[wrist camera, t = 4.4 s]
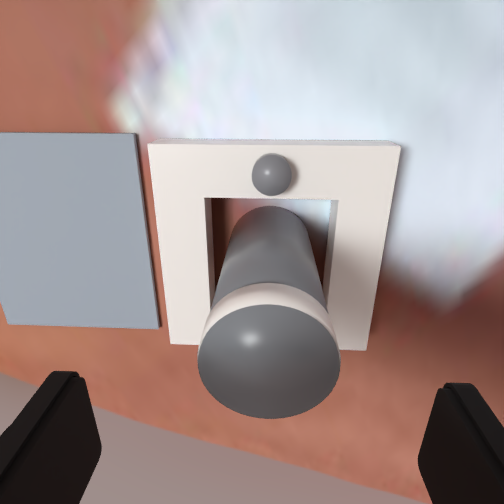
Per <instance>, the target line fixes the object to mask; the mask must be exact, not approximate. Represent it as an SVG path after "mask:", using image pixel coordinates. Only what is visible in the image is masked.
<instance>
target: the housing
mask: <svg viewBox="0 0 504 504" xmlns="http://www.w3.org/2000/svg"><path fill="white" fill-rule="evenodd" d="M400 150H401V146H399V145H397V144H395V143H392V142H390V141H381V140H269V139H158V140H155V141H153V142H151V143H148V152H149V161H150V170H151V178H152V187H153V196H154V204H155V213H156V222H157V230H158V239H159V247H160V256H161V265H162V273H163V282H164V291H165V299H166V308H167V317H168V325H169V334H170V343H171V344H190V345H199V344H200V340H201V337H202V333H203V330H204V326H205V323H206V320H207V317H208V315H209V313H210V310H211V306H212V303H213V299H214V296H215V292H216V291H215V271H214V250H213V228H212V207H211V198H265V199H326V200H331V207H330V217H329V228H328V238H327V248H326V258H325V268H324V279H323V289H322V290H323V294H324V298H325V302H326V306H327V310H328V314H329V317H330V319H331V321H332V324H333V327H334V331H335V335H336V339H337V343H338V346H339V350H364V351H366V348H367V342H368V336H369V331H370V325H371V319H372V313H373V307H374V301H375V295H376V290H377V284H378V278H379V272H380V266H381V260H382V255H383V249H384V243H385V237H386V231H387V225H388V220H389V214H390V208H391V202H392V196H393V190H394V185H395V179H396V173H397V167H398V161H399V155H400Z"/></svg>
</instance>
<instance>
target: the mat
mask: <svg viewBox="0 0 504 504" xmlns="http://www.w3.org/2000/svg"><path fill="white" fill-rule="evenodd" d="M0 302H1V305H2V308H3V311H4V314H5V316H6V319H7V322H8V324H17V325H47V326H78V327H108V328H139V329H159V327H160V323H159V315H158V307H157V300H156V292H155V284H154V276H153V268H152V260H151V253H150V245H149V237H148V229H147V221H146V214H145V206H144V198H143V190H142V182H141V174H140V167H139V159H138V151H137V143H136V135H135V133H50V132H0Z"/></svg>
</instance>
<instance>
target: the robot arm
mask: <svg viewBox="0 0 504 504" xmlns="http://www.w3.org/2000/svg"><path fill="white" fill-rule="evenodd" d="M100 455H101V441H100V437H99V433H98V429H97V425H96V421H95V417H94V413H93V410H92V406H91V402H90V398H89V394H88V390H87V386H86V382H85V379H84V378H83V377H80V376H79V374H78V373H77V372H73V371H53V372H52V373H51V374H50V375H49V376H48V377H47V378H46V380H45V381H44V382H43V384H42V385H41V386H40V387H39V389H38V390H37V391H36V393H35V394H34V395H33V397H32V398H31V399H30V401H29V402H28V403H27V405H26V406H25V407H24V408H23V410H22V411H21V413H20V414H19V415H18V416H17V418H16V419H15V420H14V422H13V423H12V424H11V425H10V426H9V427H8V428H7V429H6V430H5V431H4V432H3V433H2V435H1V436H0V504H79V503H80V500H81V498H82V496H83V494H84V491H85V489H86V487H87V485H88V483H89V481H90V478H91V476H92V474H93V472H94V470H95V467H96V465H97V463H98V461H99V458H100ZM418 466H419V470H420V473H421V476H422V478H423V481H424V483H425V486H426V488H427V491H428V493H429V496H430V498H431V501H432V503H433V504H504V427H503V426H502V424H501V423H500V422H499V420H498V419H497V417H496V416H495V414H494V413H493V412H492V410H491V409H490V407H489V406H488V404H487V403H486V402H485V400H484V399H483V397H482V396H481V394H480V393H479V392H478V390H477V389H476V388H475V386H474V385H472V384H470V383H446V384H445V385H444V387H443V388H439V389H438V391H437V394H436V397H435V401H434V404H433V407H432V411H431V414H430V417H429V421H428V424H427V428H426V431H425V434H424V438H423V441H422V445H421V448H420V451H419V455H418Z"/></svg>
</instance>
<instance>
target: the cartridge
mask: <svg viewBox="0 0 504 504" xmlns="http://www.w3.org/2000/svg"><path fill="white" fill-rule="evenodd" d="M340 363H341V357H340V350H339V346H338V343H337V339H336V335H335V331H334V327H333V324H332V321H331V319H330V317H329V314H328V310H327V306H326V302H325V298H324V294H323V290H322V286H321V282H320V279H319V275H318V271H317V267H316V263H315V259H314V255H313V251H312V247H311V243H310V240H309V236H308V232H307V229H306V227H305V225H304V224H303V222H302V221H301V220H300V219H299V218H298V217H297V216H296V215H295V214H294V213H292V212H290V211H288V210H286V209H284V208H281V207H276V206H264V207H259V208H256V209H253V210H251V211H249V212H248V213H246V214H245V215H243V216H242V217H241V218H240V219H239V220H238V222H237V223H236V225H235V226H234V228H233V231H232V234H231V238H230V241H229V245H228V249H227V252H226V256H225V259H224V263H223V267H222V270H221V274H220V277H219V281H218V285H217V288H216V292H215V296H214V299H213V303H212V306H211V310H210V313H209V315H208V317H207V320H206V323H205V326H204V330H203V333H202V337H201V340H200V344H199V348H198V369H199V374H200V377H201V380H202V382H203V384H204V386H205V387H206V389H207V390H208V391H209V393H210V394H211V395H212V396H213V397H214V398H215V399H216V400H218V401H219V402H220V403H221V404H223V405H224V406H226V407H227V408H229V409H231V410H233V411H235V412H238V413H241V414H244V415H247V416H251V417H256V418H265V419H277V418H285V417H291V416H294V415H298V414H301V413H303V412H306V411H308V410H310V409H312V408H313V407H315V406H316V405H318V404H319V403H321V402H322V401H323V400H324V399H325V398H326V397H327V396H328V395H329V394H330V392H331V391H332V390H333V388H334V386H335V385H336V382H337V380H338V377H339V372H340Z"/></svg>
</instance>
